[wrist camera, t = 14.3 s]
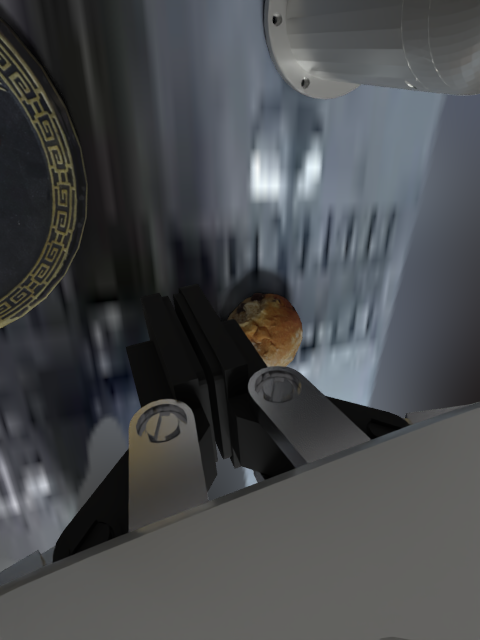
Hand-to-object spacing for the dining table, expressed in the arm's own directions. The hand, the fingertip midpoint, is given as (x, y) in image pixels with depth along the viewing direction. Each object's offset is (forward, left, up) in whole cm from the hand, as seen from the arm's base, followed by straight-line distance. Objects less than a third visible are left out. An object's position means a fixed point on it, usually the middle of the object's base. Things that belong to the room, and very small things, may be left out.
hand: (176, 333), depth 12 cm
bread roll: (-14, +23, -30) cm, 40 cm away
